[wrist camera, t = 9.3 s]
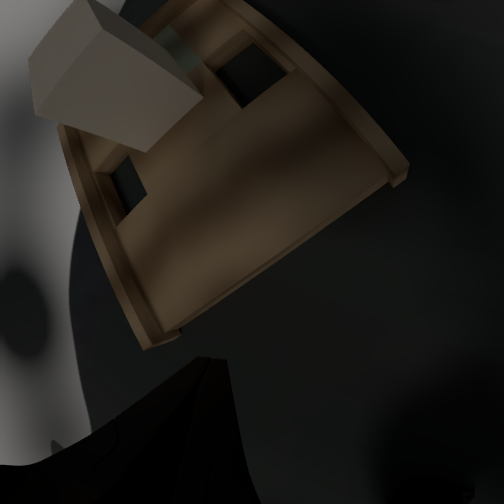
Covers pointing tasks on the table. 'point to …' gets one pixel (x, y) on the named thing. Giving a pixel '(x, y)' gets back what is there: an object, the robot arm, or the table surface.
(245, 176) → the wooden tray
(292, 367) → the table surface
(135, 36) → the cream block
